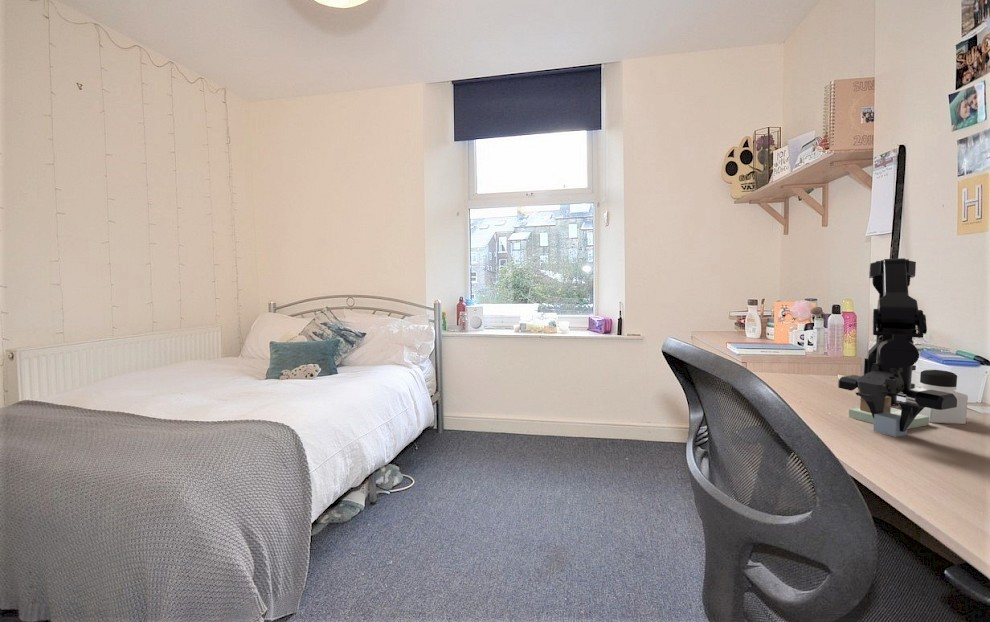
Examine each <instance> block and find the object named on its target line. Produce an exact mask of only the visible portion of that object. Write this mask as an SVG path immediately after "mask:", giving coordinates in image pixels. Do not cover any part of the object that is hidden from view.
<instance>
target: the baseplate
mask: <svg viewBox="0 0 990 622" xmlns="http://www.w3.org/2000/svg"><path fill="white" fill-rule="evenodd" d="M901 410H902V409H899V408H894V407H891V411H890V413H892V414H896V415H900V416H901ZM848 417H849V418H852V419H854V420H857V421H858V420H859V421H863V422H865V423H869V424H872V425H874V418H873V416H872V413H870V412H866V411H862V410H860V407H853V408H849V409H848ZM929 423H930V422H929V416H925V415H920V414H918V415H917V416H916V417H915V418H914V420H913V421H912V423H911V424H910V425H909V427H908V428H907V430H909V429H914V428H920V427H924V426H929Z"/></svg>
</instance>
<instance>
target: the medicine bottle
mask: <svg viewBox="0 0 990 622" xmlns="http://www.w3.org/2000/svg"><path fill="white" fill-rule="evenodd" d="M919 375H920V378H919V385H920V386H915V388H914V389H911V390H913V391H918V392H919V391H925V390H936V391H942V392H947V393H952V394H954V396H955V397H956V398H957V407H955V408H950V409H944V410H936V409H932V408H927V407H925V408H924V409H923V410H922V411H921V412H920V413H919V414H920V415H925V416H929V423H932V424H933V423H934V424H937V423H938V424H951V425H952V424H957V425H965V424H967V414H968V411H967V410H968V398H969V396H968V394H965V393H962V392H958V391H956V390H957V384H958V375H957V374H956V373H954V372H952V371H948V370H943V369H924V370H923V369H922V370H921V371H920V374H919Z"/></svg>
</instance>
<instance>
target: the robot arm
mask: <svg viewBox="0 0 990 622" xmlns="http://www.w3.org/2000/svg"><path fill="white" fill-rule="evenodd" d="M916 265H917V262H916V261H913V260H910V259H908V258H907V259H906V258H905V257H903V258H884V259H881V260H876V261H875V262H871V263H870V264H869V273H868V275H869V277H868V279H872V282H871V283H872V286H873V288H875V290H876V291H877V292H878V301H877V308H873V311H872V335H873V336H875V337H876V339H875V344H874V345H873V346H872V347H870V348H869V350H868V352H867V358H863V359H864V360H863V370H862V371H863V372H862V374H863V375H862V376H861V375H858V374H857V375H856V374H852V375H845V376H841V377H840V378H839V379H838V381H837V383H838V384H837V387H838V389H840V390H841V389H842V390H846V391H850V392H851V391H854V390H855V389H857V392H855V395H856V396H858V397H860V398H861V397H862V398H863V399H864V400H865V401H866V403H867V405H868V406H869V409H870V411H871V413H872V416H873V418H874V414H878V413H883V411H884V403H885V397H886V396H889V397H891V407H892V406H897V405H899V406H900V410H901V418H900V431H901V432H905V431H906V429H907V428H908V427H909V425H910V424H911V423H912V421H913V420H914V418H915V417H916V416H917V415H918V414H919V413H920V412H921V411H922V410H923V409H924V408H925V407H927V408H932V409H936V410H944V409H950V408H955V407H957V398H956V397H955V396H954V394H952V393H947V392H942V391H936V390H925V391H919V392H918V391H913V390H911V389H914V388H915V387H916V386H915V385H916V384H915V383H912V375H913V374H912V373H913V371H916V368H917V366H916V363H917V362H918V361H919V358H920V352H919V349H918V348H917V347H916V345H914V342H915V341H914V340H913V338H921V339H922V338H923V339H924V335H927V332H928V327H927V317H926V314H924V311H923V309H919V307H918V305H919V304H918V301H917V299H916V298H913V297H912V296H909V287H910V285H911V279H913V278H915V277H916V271H917V270H916V268H917V267H916ZM898 397H900V398H905V401H902V400H897V399H898ZM907 430H908V429H907Z"/></svg>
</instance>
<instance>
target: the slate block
mask: <svg viewBox="0 0 990 622" xmlns="http://www.w3.org/2000/svg"><path fill="white" fill-rule="evenodd" d="M900 418H901V416H900V415H896V414H892V413H888V412H883V413H878V414H874V424H873V431H874V432H877V433H880V434H884V435H887V436H891V437H894V438H896V437H903V436H907V435H908V429H906V431H905V432H901V431H900Z"/></svg>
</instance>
